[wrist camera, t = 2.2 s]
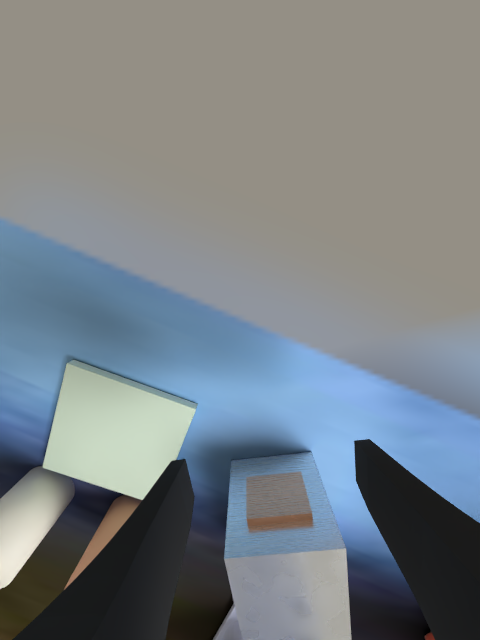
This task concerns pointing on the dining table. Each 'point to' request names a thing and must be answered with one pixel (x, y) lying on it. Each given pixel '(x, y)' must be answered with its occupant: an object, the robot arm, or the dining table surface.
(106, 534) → the terracotta peg
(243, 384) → the dining table surface
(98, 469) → the pad
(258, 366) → the dining table surface
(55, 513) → the ivory peg
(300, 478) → the block
